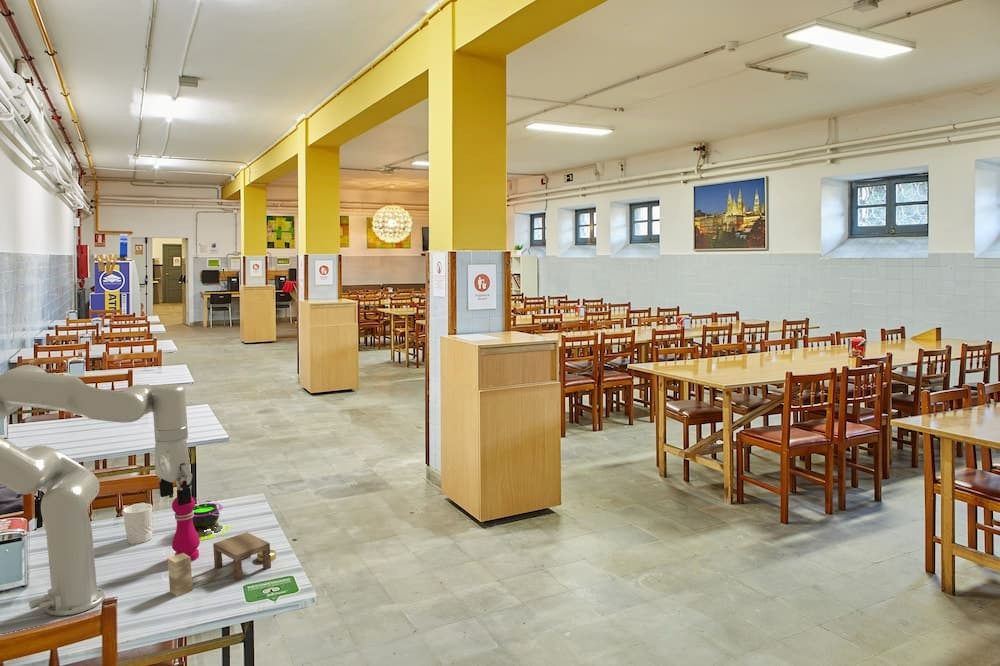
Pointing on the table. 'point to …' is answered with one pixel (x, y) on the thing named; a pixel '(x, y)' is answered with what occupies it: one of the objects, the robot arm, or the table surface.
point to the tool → (190, 574)
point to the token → (272, 556)
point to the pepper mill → (185, 530)
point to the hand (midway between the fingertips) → (175, 499)
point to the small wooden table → (241, 551)
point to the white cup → (138, 522)
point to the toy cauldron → (207, 519)
